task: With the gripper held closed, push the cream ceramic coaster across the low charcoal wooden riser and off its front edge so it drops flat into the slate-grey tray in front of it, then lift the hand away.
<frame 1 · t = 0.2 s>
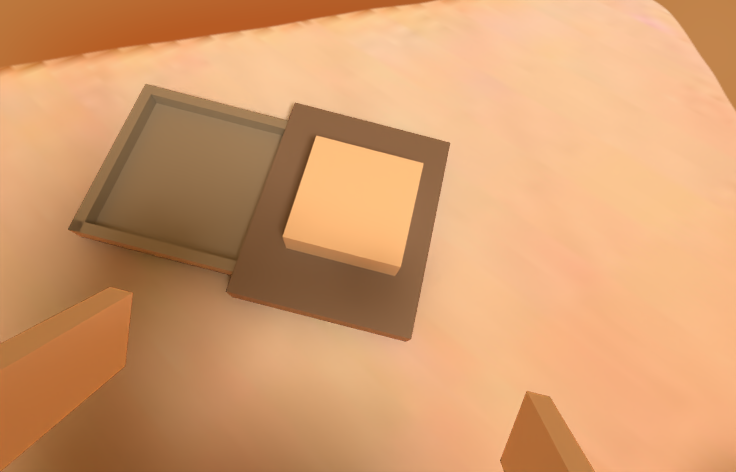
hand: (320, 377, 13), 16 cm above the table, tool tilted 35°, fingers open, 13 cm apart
coaster: (354, 212, 30), point 2 cm above the table, touching riser
tray: (192, 180, 32), on the table
riser: (346, 220, 32), on the table
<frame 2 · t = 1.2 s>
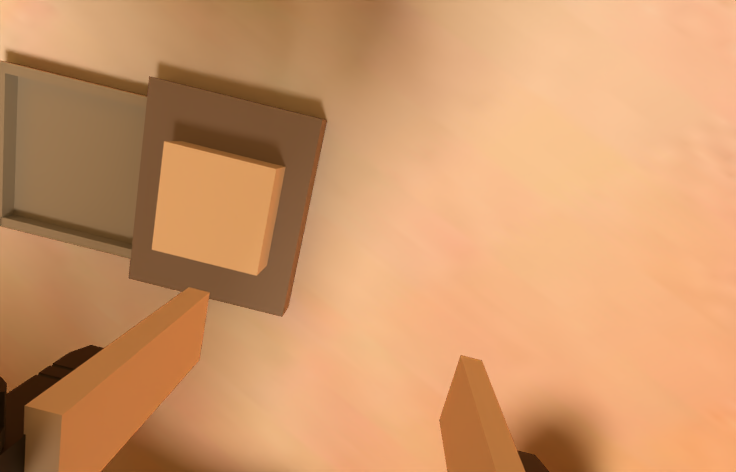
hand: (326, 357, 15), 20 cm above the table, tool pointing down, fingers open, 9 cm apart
coaster: (225, 205, 32), point 2 cm above the table, touching riser
tray: (81, 163, 34), on the table
riser: (229, 199, 34), on the table
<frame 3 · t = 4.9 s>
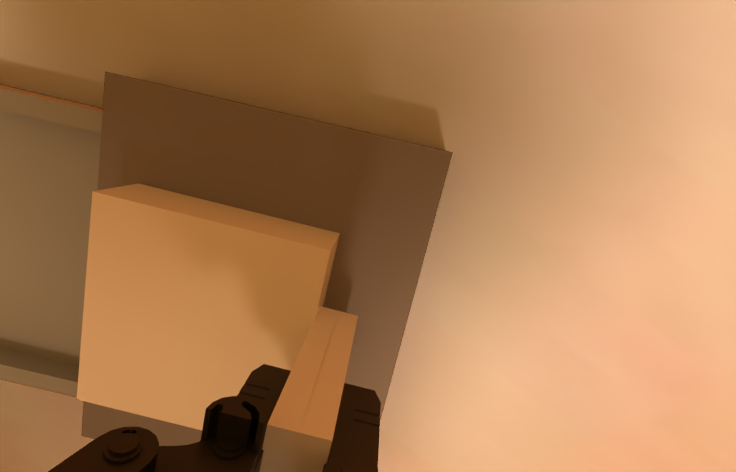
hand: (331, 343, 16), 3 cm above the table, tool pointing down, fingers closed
coaster: (223, 302, 17), point 2 cm above the table, touching gripper
riser: (260, 292, 19), on the table
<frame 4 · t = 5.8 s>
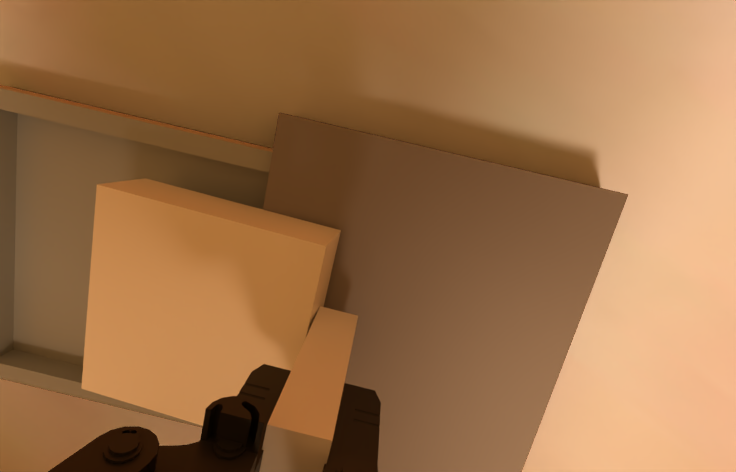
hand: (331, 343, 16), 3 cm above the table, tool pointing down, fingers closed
coaster: (226, 297, 17), point 2 cm above the table
tray: (132, 262, 19), on the table
riser: (399, 325, 19), on the table
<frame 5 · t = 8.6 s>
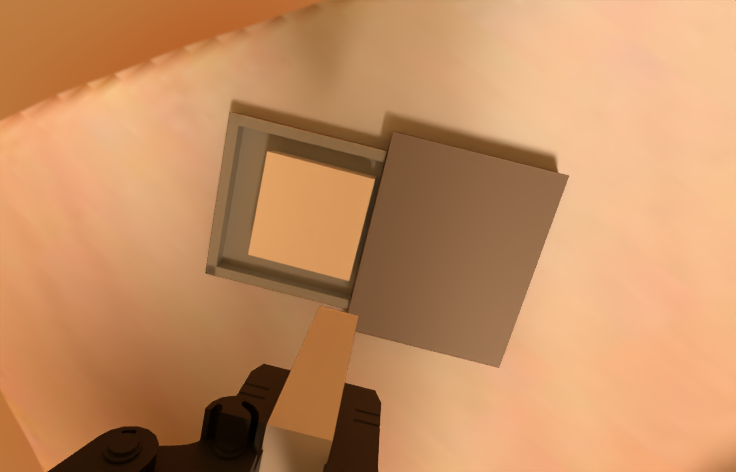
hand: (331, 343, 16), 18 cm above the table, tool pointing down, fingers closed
coaster: (315, 212, 33), resting on tray
tray: (296, 212, 33), on the table
riser: (446, 249, 33), on the table
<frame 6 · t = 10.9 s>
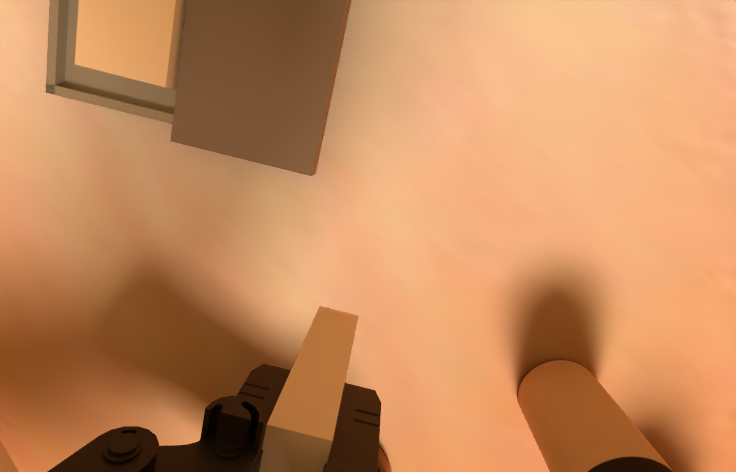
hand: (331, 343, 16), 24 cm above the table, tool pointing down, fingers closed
coaster: (142, 33, 36), resting on tray
tray: (127, 35, 37), on the table
riser: (263, 69, 37), on the table
travel mug: (555, 391, 42), on the table
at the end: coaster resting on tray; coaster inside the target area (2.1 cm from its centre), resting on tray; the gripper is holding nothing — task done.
